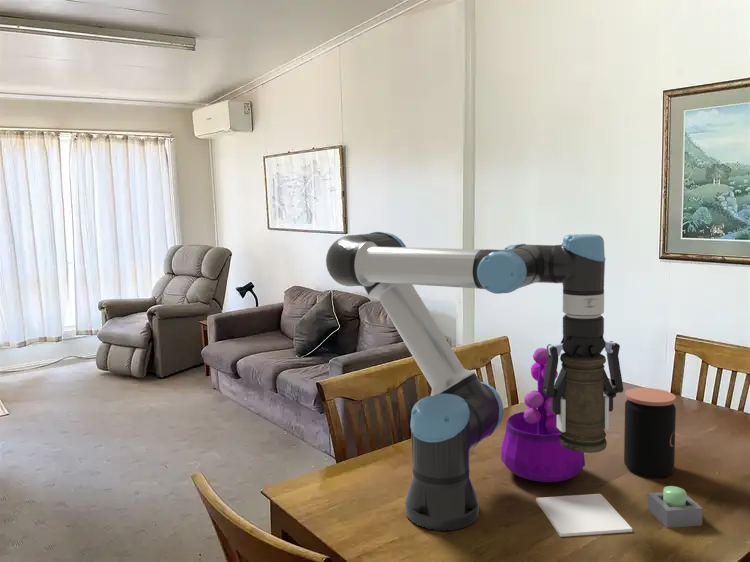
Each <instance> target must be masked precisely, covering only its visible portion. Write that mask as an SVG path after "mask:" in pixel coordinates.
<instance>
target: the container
mask: <svg viewBox="0 0 750 562" xmlns="http://www.w3.org/2000/svg"><path fill="white" fill-rule="evenodd" d="M599 356H600V357H580V358H576V359H573V358H571V357H568V356H567V355H566V353H565V352H563V353H560V355H559V359H560V362H561V368H563V370H566V371H567V379H566V381H567V386H566V388H565V391H564V393H563V395H562V397H563V398H564V399H565V400H566V417H565V432H561V431H560V436H559V441H560V444H561V445H562V446H563V447H565V448H567V449H569V450H572V451H576V452H582V453H584V454H585V453H586V454H593V453H594V454H595V453H600V452H603V451H604V450H605V449H606V448H607V446H608V444H607V443H608V442H607V439H606V437H607V433H606V431H605V429H604V417H603V395H604V384H603V381H604V376H603V370H605V363H606V362H607V357H606V356H605V355H603V354H602V353H600V355H599Z"/></svg>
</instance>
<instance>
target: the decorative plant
mask: <svg viewBox="0 0 750 562" xmlns="http://www.w3.org/2000/svg"><path fill="white" fill-rule="evenodd" d="M532 357H533V361H534V363H533V364H532V365H531V367H530V374H531V376H532V379H534V380H535V381H536V382H537V390H532V391H530V392H527V393H526V394H525V396H524V401H523V402H524V404H525V405H526V407H528V408H527V409H526V410H525V411H522V412H517V413H515V414H512V415H510V416H509V417H507V420H506V424H505V431H504V436H503V439H502V443H501V452H500V460H501V461H502V463H503V464H504V465H505V467H507V469H508V470H509V471H510V473H513V474H515V475H516V476H517V477H521V478H523V479H527V480H530V481H536V482H542V483H543V482H544V483H545V482H546V483H553V482H554V483H556V482H562V481H567V480H570V479H572V478H574V477H576V476H577V475H578V474H579V473H580V472H581V471H582V470H583V468H584V467H585V465H586V462H585V461H586V460H585V453H582V452H576V451H572V450H569V449H567V448H565V447H563V446H562V445H561V444H560V441H559V436H560V430H559V429H558V428H557V415H555V414H554V413H553V411H552V397H548V396H547V395H546V394H545V393H544V392H543V391H542V389H543V383H544V377H545V371H546V366H547V360H548V353H547V348H545V347H539V348H537V349H535V351H534V353H533V355H532ZM558 375H559V373H558V371H557V372H556V378H555V380H557V378H558Z"/></svg>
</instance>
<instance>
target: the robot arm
mask: <svg viewBox="0 0 750 562" xmlns="http://www.w3.org/2000/svg"><path fill="white" fill-rule="evenodd" d="M562 238H563V239H562V242H561V243H562V244H555V245H553V244H547V245H546V244H526V243H521V244H520V243H519V244H509V245H507V246H505V248H504V249H492V248H491V249H490V248H489V249H480V248H479V249H477V248H476V249H473V248H472V249H471V248H448V247H447V248H446V247H445V248H439V247H435V248H434V247H407V246H406V244H405V243H404V241H403V240H402V239H401V238H399V237H398V236H397V235H395V234H394V233H390V232H384V231H373V232H369V233H364V234H363V233H360V234H352V235H351V234H350V235H345V236H342V237H339V238H338V239H336V240H335V241H334V242H333V243H332V245H330V247H329V248H328V250H327V253H326V259H325V264H326V265H325V266H326V269H327V272H328V274H329V276H330V277H331V278H332V280H333V281H335V282H336V283H338V284H339V285H341V286H345V287H363V288H364V290H365V291H366V293H367V295H368V296H369V298H371V299H375V300H378V301H379V303H380V304H381V306H382V307H383V309H384V310H385V312H386V313H385V314H386V315H387V316H388V317H389V319H390V320H391V322H392V324H393V326H394V327H395V329H396V331H397V332H398V334H399V336H400V337H401V339H402V340H403V342H404V344H405V346H406V347H407V349H408V351H409V353H410V354H411V355H412V358H413V359H414V361H415V363H416V364H417V366H418V368H419V369H420V371H421V372H422V374H423V377H424V378H425V379H426V381H427V383H428V384H429V386H430V387H431V393H430V395H427V396H425V397H422V398H420V399H419V400H418V401H416V403H414V405H413V407H412V409H411V412H410V413H411V414H410V415H411V416H410V417H411V418H410V425H409V426H410V432H411V434H410V435H411V436H410V437H411V438H410V439H411V460H412V461H411V462H412V465H411V466H412V477H411V480H410V483H409V487H408V490H407V493H406V497H405V501H404V507H405V508H404V509H405V510H404V511H405V515H407V516H406V517H407V519H408V518H409V519H410V520H411V521H412V522H411V521H410V520H409V521H410V522H411V523H413V522H414V523H416V524H418V525H419V526H418V525H417V526H418V527H420V526H422V527H421V528H423V527H425V528H424V529H426V528H427V529H426V530H431V529H434V530H433V531H439V530H443V531H444V532H445V531H446V530H449V531H456V530H460V528H461V529H464V528H466V526H467V527H468V526H471V525H472V524H473V523H475V522H476V521H477V520H478V518H479V515H480V504H479V500H478V497H477V496H478V495H477V493H476V491H475V487H474V485H473V482H472V479H471V473H470V451H471V450H472V449H474V448H475V447H476V446H477V445H479V444H480V443H482V442H483V440H485V439H487V438H488V437H491V436H492V435H493V434H494V432H496V430H497V429H498V427H499V426H500V424H501V423H502V420H503V417H504V404H503V400H502V398H501V396H500V394H499V392H498V391H497V390H496V389H495V388H494V387H493V386H492V385H490V384H487V383H485V382H483V381H481V380H480V379H479V377H478V376H477V374H476V373H475V371H474V370H469V369H466V368H464V365H463V364H462V362H461V361H460V360H459V358H458V357H457V355H456V353H455V351H454V350H453V348H452V346H451V344H449V341H448V340H447V338H446V336H445V335H444V334H443V331H441V329H440V327H439V325H438V324H437V322H436V321H435V319H434V317H433V316H432V314H431V313H430V311H429V309H428V308H427V306H426V304H425V303H424V301H423V300H422V298H421V296H420V295H419V294H418V291H417V290H416V289H415V286H414V285H417V286H430V287H431V286H432V287H434V286H435V287H446V288H447V287H450V288H461V289H462V288H465V289H480V290H485V291H487V292H490V293H492V294H497V295H498V294H510V293H512V292H515V291H517V290H518V289H521V288H523V287H526V286H529V285H533V284H536V283H537V284H538V283H539V284H540V283H541V284H542V283H543V284H544V283H545V284H546V283H547V284H562V313H564V315H563V317H562V338H561V342H560V343H557V344H550V343H549V344H547V345H546V349H547V353H548V360H547V366H546V371H545V377H544V383H543V389H542V391H543V392H544V393H545V394H546V395H547V396H548V397H552V411H553V413H554V414H555V415H557V428H558V429H559V430H560V431H561V432H565V417H566V400H565V399H564V398H563V397H562V395H563V393H564V391H565V388H566V386H567V381H566V379H567V371H566V370H563V368H562V367H561V368H560V371H559V373H558V376H557V378H556V372H558V367H559V357H560V356H561V354H562V353H561V352H562V351H563V353H566V355H567V356H568V357H571V358H573V359H576V358H580V357H600V356H599V355H600V354H602V352H603V351H604V352H606V360H607V365H608V371H609V372H608V373H609V377H610V380H609V377H608V375H607V372H606V369H604V370H603V376H604V381H603V384H604V395H603V417H604V431H605V430H609V429H610V428H609V427H610V425H609V422H610V420H609V419H610V412H613V410H614V398H616V397H617V394H618V393H620V394H622V393H623V392H624V384H623V377H622V372H621V364H620V359H619V352H620V349H621V348H620V347H621V346H620V344H619V343H617V342H615V341H613V340H610V341H606V340H605V338H604V334H605V318H604V316H603V314H604V312H605V270H606V269H605V268H606V266H605V265H606V264H605V263H606V255H605V240H604V237H603V236H602V235H600V234H594V233H593V234H590V233H589V234H588V233H585V234H583V233H582V234H567V235H564V237H562ZM555 378H556V379H555ZM414 523H413V524H414ZM416 524H415V525H416Z"/></svg>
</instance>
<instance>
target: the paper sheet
mask: <svg viewBox="0 0 750 562" xmlns="http://www.w3.org/2000/svg"><path fill="white" fill-rule="evenodd" d="M535 502H536V504H537V505H538V506H539V507H540V508H541V511H542V512H543V513H544V515H545V516H546V518H547V519H548V521H549V522H550V523H551V525H552V526H553V528H554V530H555V531H556V532H557V534H558V536H559V537H574V536H575V537H576V536H577V537H578V536H592V535H603V534H619V533H632V532H633V527H631V525H629V523H628V522H627V521H626V520H625V518H623V517H622V516H621V515H620V513H619V512H618V511H617V510H616V509H615V507H613V506H612V505H611V503H609V502H608V500H607V499H606V498H605V497H604V495H602V494H601V493H592V494H591V493H590V494H589V493H588V494H574V495H560V496H547V497H545V496H542V497H536V498H535Z"/></svg>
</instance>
